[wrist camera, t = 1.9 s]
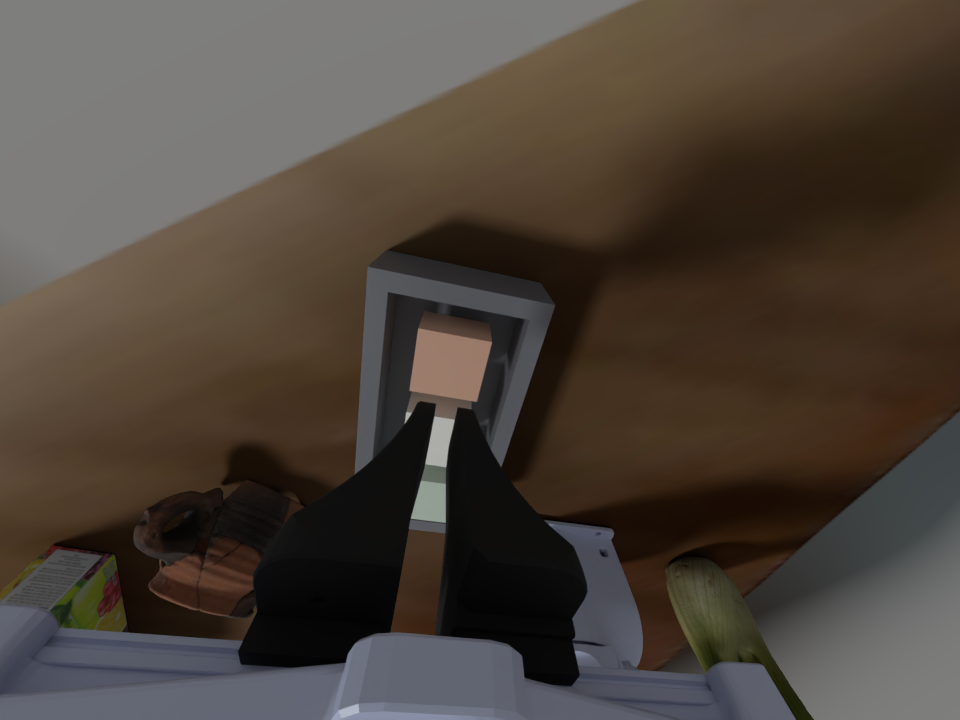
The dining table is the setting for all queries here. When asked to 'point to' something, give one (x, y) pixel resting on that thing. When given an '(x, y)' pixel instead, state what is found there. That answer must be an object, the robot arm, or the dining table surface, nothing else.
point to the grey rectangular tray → (393, 334)
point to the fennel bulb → (721, 622)
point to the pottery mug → (212, 545)
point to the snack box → (72, 589)
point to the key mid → (438, 424)
